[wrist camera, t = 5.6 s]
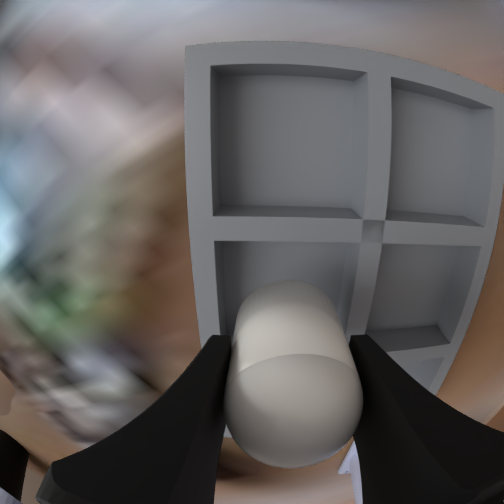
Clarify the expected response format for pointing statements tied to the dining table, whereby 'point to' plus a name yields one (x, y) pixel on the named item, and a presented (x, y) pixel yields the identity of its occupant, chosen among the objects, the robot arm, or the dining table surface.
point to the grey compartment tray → (343, 190)
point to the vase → (12, 465)
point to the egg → (291, 377)
